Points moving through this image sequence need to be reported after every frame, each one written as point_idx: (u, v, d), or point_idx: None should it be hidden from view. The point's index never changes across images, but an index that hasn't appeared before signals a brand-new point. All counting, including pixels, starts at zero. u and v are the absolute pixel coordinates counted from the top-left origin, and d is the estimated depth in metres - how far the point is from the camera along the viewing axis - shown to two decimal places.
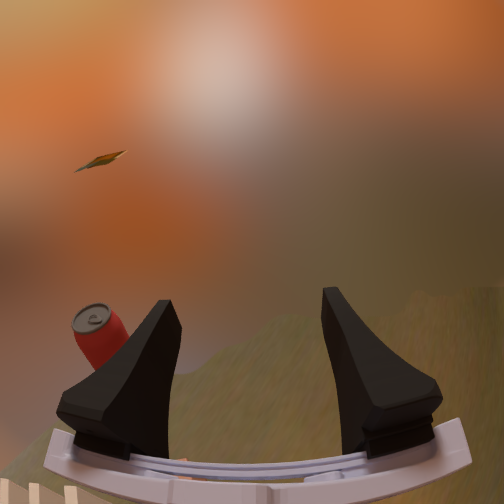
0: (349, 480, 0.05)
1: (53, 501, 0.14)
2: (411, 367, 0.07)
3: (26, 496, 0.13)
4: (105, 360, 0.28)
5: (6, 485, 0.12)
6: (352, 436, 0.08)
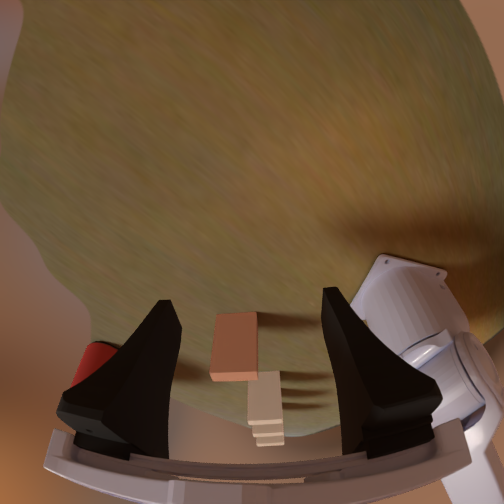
0: (349, 480, 0.05)
1: None
2: (411, 367, 0.07)
3: None
4: None
5: (262, 443, 0.35)
6: (352, 436, 0.08)
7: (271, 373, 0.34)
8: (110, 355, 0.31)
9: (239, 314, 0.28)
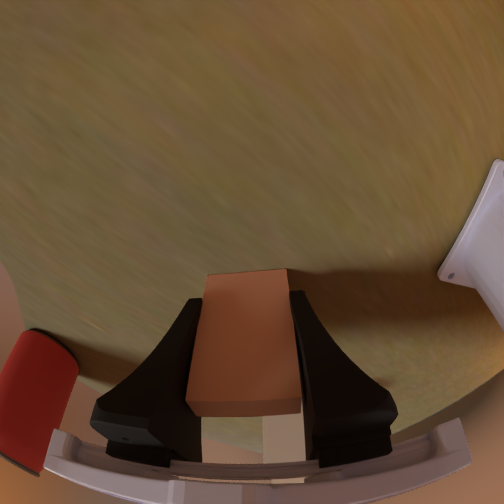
0: (349, 480, 0.05)
1: None
2: (365, 377, 0.07)
3: None
4: (44, 427, 0.13)
5: (279, 483, 0.21)
6: (308, 443, 0.08)
7: None
8: (45, 351, 0.17)
9: (253, 274, 0.14)
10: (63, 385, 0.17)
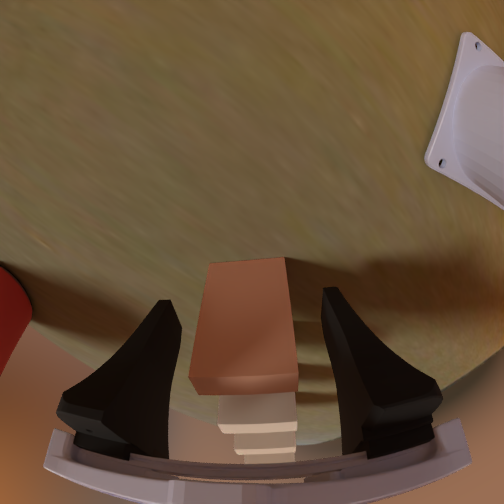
0: (349, 480, 0.05)
1: None
2: (411, 367, 0.07)
3: None
4: None
5: None
6: (352, 436, 0.08)
7: None
8: None
9: (252, 262, 0.15)
10: (9, 320, 0.15)
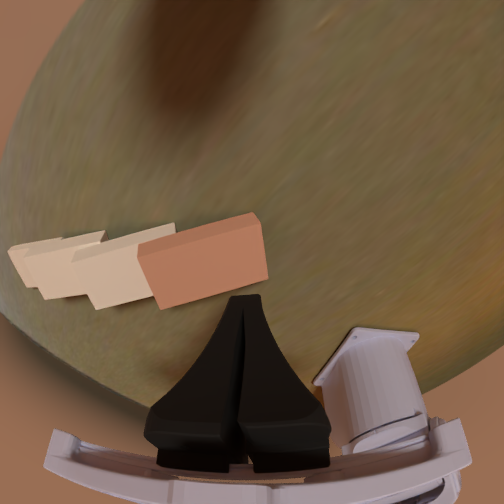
0: (349, 480, 0.05)
1: (52, 267, 0.17)
2: (300, 386, 0.07)
3: None
4: None
5: None
6: None
7: None
8: None
9: (261, 258, 0.17)
10: None
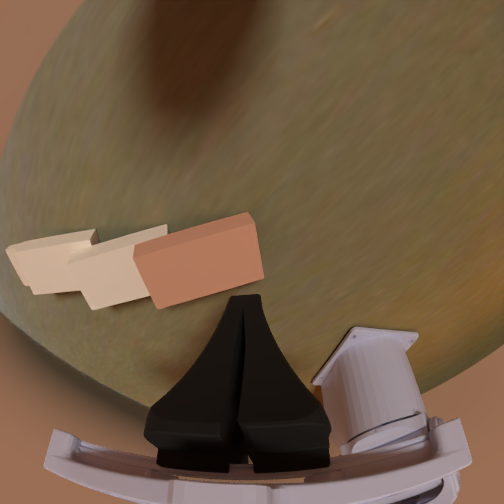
0: (349, 480, 0.05)
1: (42, 263, 0.16)
2: (300, 386, 0.07)
3: None
4: None
5: None
6: None
7: None
8: None
9: (257, 258, 0.17)
10: None
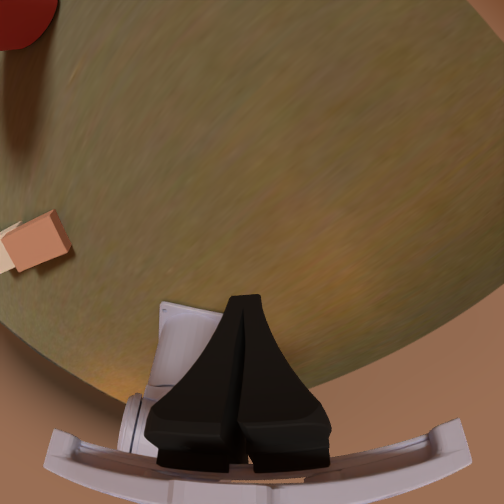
0: (349, 480, 0.05)
1: None
2: (300, 386, 0.07)
3: None
4: None
5: None
6: None
7: None
8: (41, 21, 0.11)
9: (58, 238, 0.22)
10: (7, 47, 0.10)
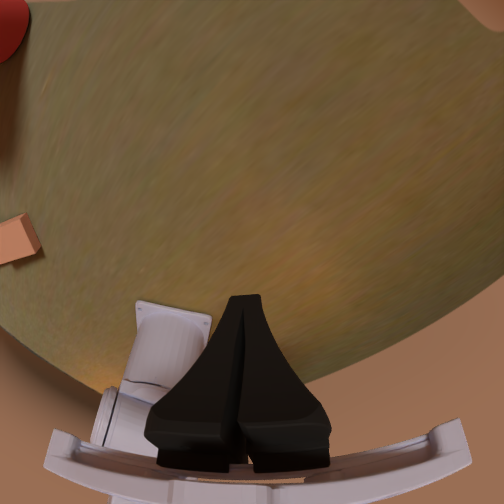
0: (349, 480, 0.05)
1: None
2: (300, 386, 0.07)
3: None
4: None
5: None
6: None
7: None
8: (13, 38, 0.11)
9: (27, 240, 0.22)
10: None
